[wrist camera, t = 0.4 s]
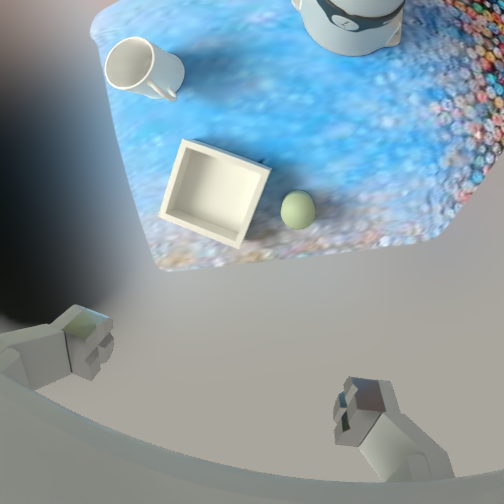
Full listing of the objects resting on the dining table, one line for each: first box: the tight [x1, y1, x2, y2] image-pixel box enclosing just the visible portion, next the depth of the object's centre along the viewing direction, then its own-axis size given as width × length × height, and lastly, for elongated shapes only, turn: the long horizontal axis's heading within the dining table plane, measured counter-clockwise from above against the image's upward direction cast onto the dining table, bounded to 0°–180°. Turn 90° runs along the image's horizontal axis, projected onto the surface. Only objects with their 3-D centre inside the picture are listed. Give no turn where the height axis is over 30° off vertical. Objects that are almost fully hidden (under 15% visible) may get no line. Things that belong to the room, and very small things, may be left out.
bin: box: [158, 139, 272, 249], centre depth 50 cm, size 13×14×5 cm
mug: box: [105, 37, 185, 102], centre depth 42 cm, size 12×8×12 cm
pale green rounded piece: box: [281, 190, 315, 229], centre depth 49 cm, size 5×5×6 cm
